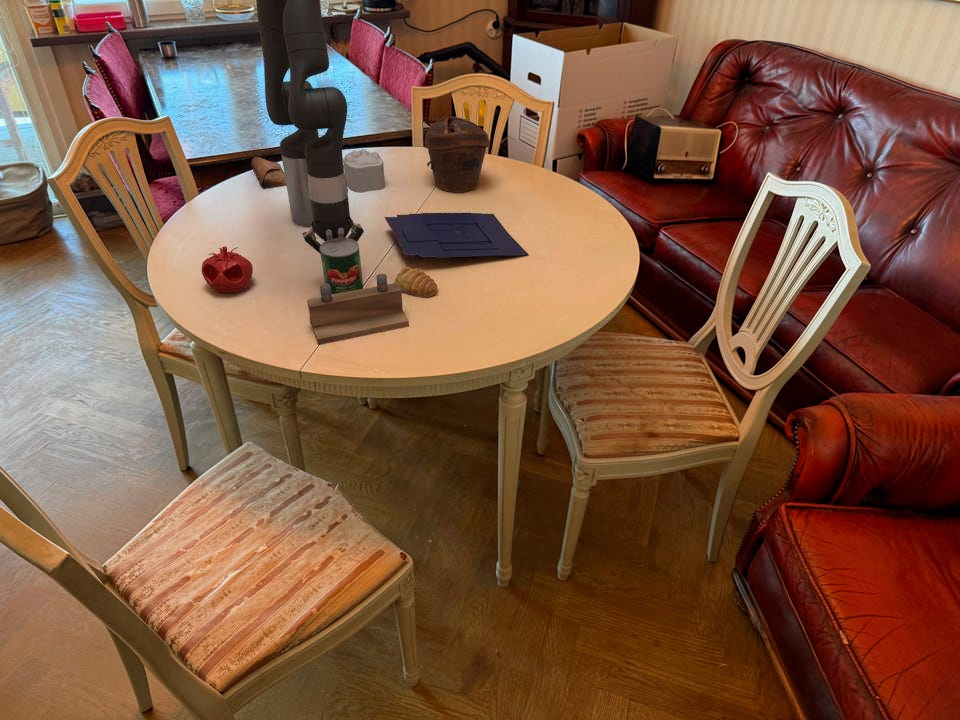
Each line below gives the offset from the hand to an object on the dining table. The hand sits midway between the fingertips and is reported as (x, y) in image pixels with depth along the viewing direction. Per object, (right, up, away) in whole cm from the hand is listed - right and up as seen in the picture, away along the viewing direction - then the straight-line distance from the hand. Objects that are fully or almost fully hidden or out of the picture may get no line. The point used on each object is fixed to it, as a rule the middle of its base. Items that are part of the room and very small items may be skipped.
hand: (337, 269), depth 135 cm
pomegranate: (-23, -4, -1) cm, 23 cm away
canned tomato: (+2, -5, -2) cm, 6 cm away
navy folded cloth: (+24, +9, +18) cm, 32 cm away
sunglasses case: (-30, +34, +47) cm, 65 cm away
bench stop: (+7, -12, -11) cm, 18 cm away
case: (+24, +32, +47) cm, 61 cm away
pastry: (+17, -4, +1) cm, 17 cm away
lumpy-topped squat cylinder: (-3, +32, +45) cm, 55 cm away
